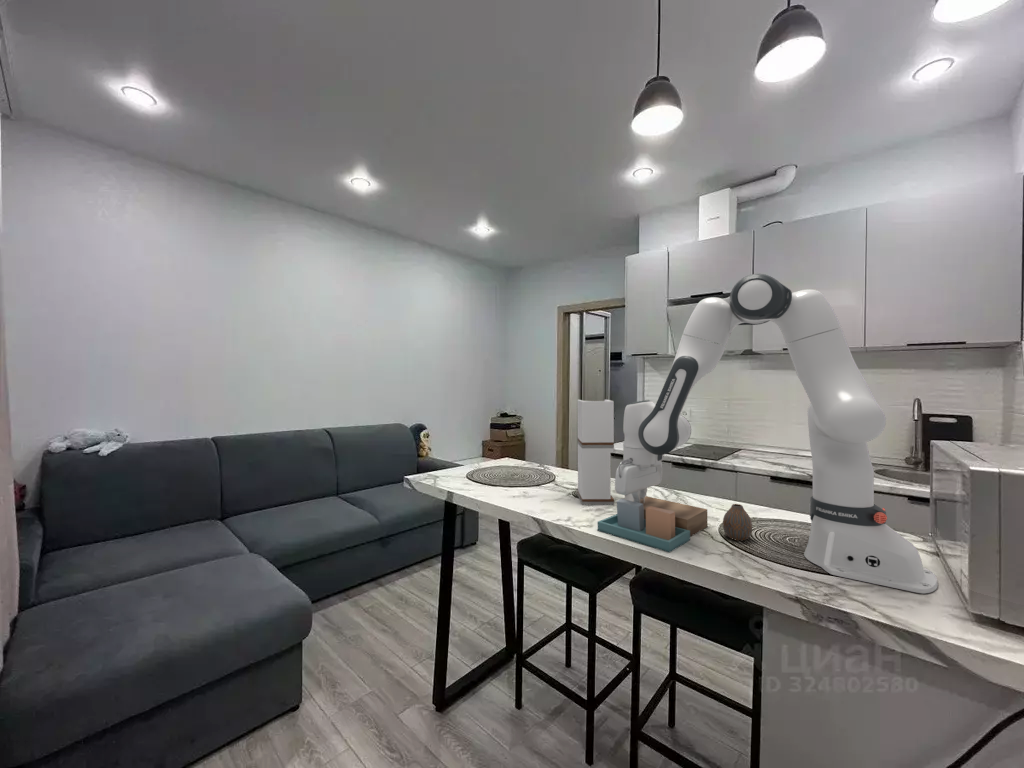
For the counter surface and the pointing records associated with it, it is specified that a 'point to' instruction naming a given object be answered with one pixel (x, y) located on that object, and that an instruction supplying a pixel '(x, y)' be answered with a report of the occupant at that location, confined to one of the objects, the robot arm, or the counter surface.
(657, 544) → the tray
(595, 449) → the white stacked pillar
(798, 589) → the counter surface
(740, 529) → the vase
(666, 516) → the terracotta tile
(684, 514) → the block
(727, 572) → the counter surface
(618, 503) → the slate tile
